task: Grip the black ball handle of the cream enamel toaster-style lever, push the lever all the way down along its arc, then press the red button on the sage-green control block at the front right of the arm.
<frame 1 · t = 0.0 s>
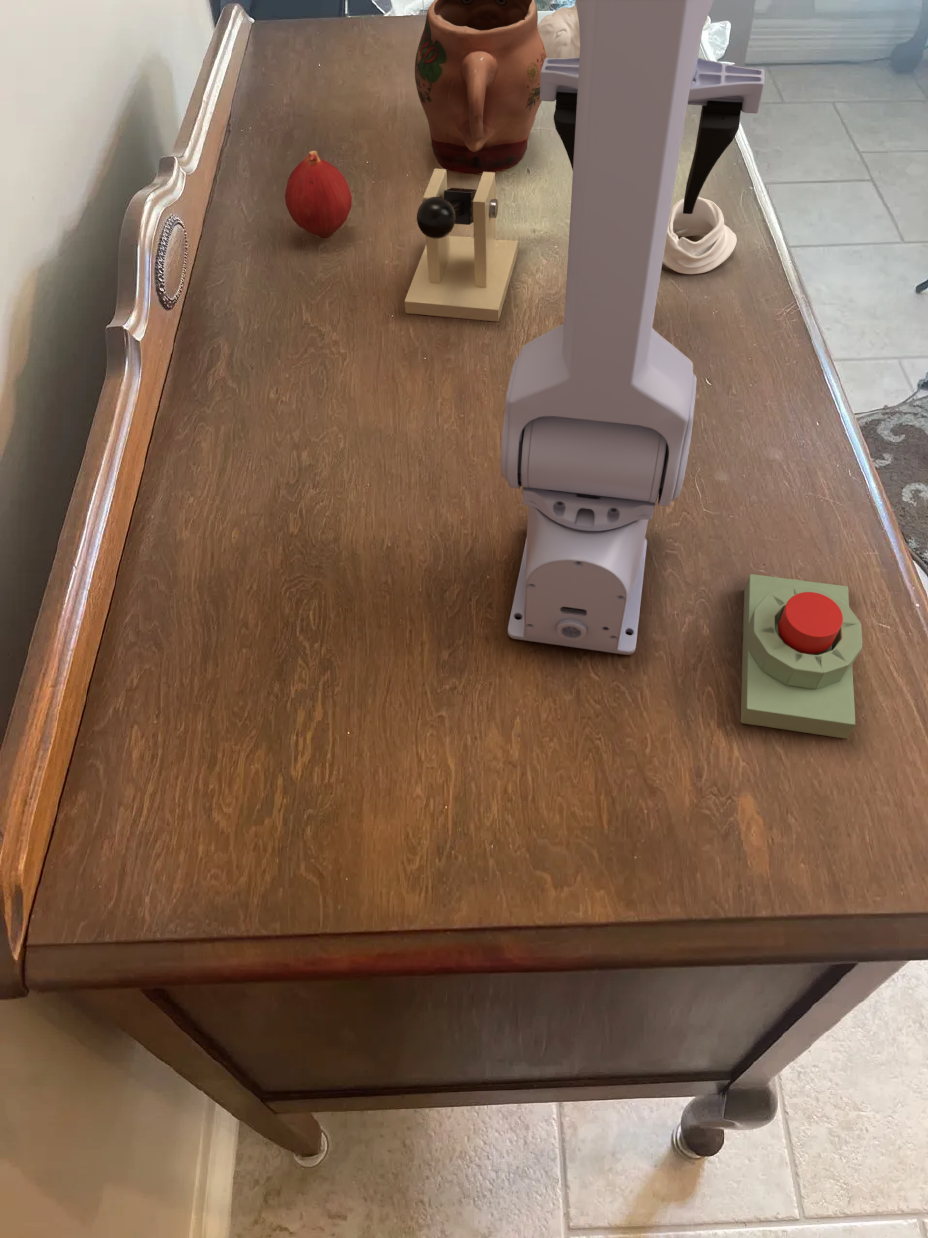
hand: (635, 202, 68), 10 cm above the table, tool pointing down, fingers open, 7 cm apart
lever: (448, 211, 70), point 9 cm above the table, hinge at 25.0°
red squash: (325, 238, 85), on the table
button: (809, 622, 53), point 4 cm above the table, slide at 0.1 cm
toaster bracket: (463, 282, 80), on the table
button block: (792, 660, 56), on the table
decorative planter: (482, 163, 92), on the table
bust: (587, 69, 102), on the table
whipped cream: (688, 255, 81), on the table
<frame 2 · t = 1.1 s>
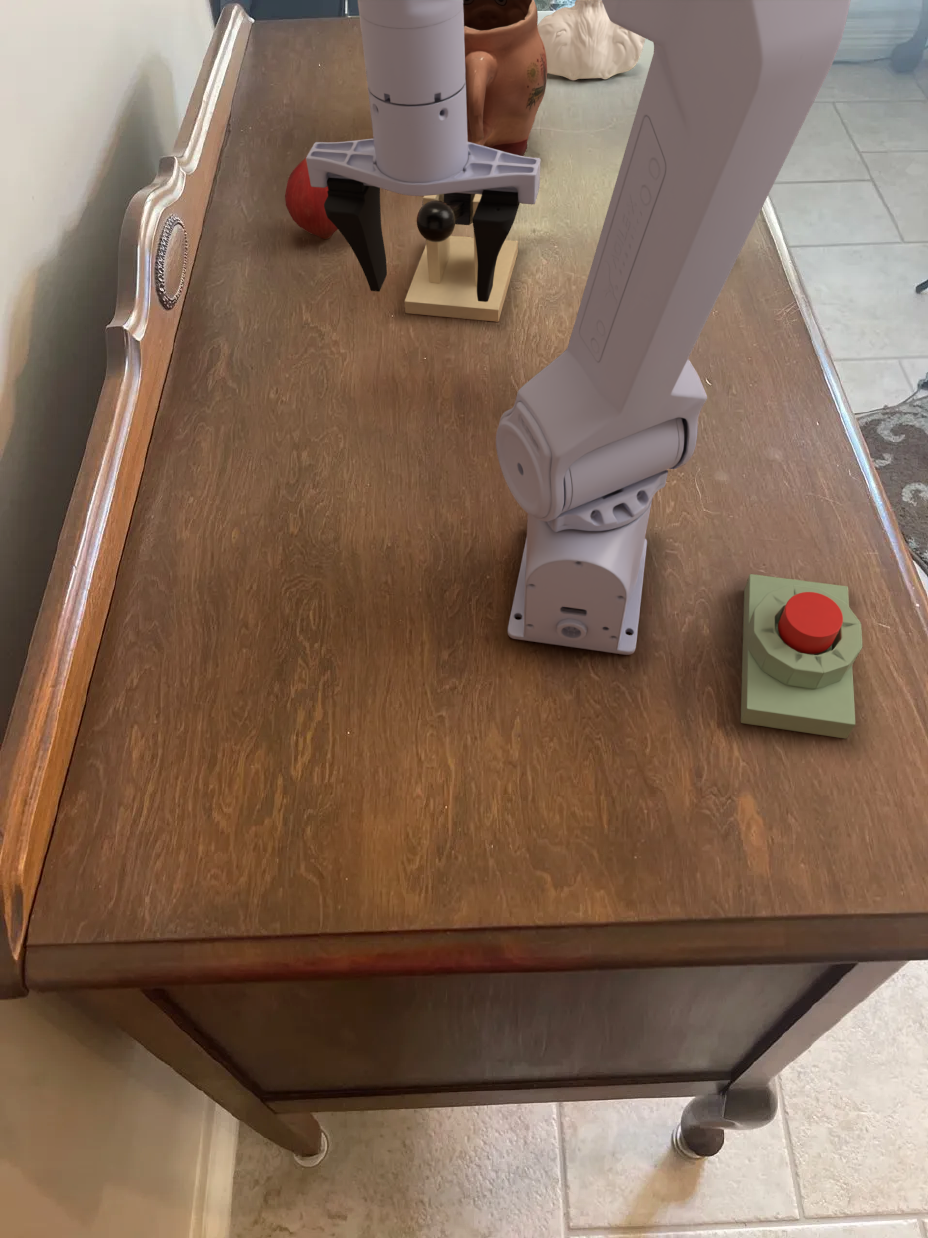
hand: (431, 287, 64), 9 cm above the table, tool pointing down, fingers open, 7 cm apart
lever: (448, 213, 70), point 9 cm above the table, hinge at 23.5°
everything else where it was.
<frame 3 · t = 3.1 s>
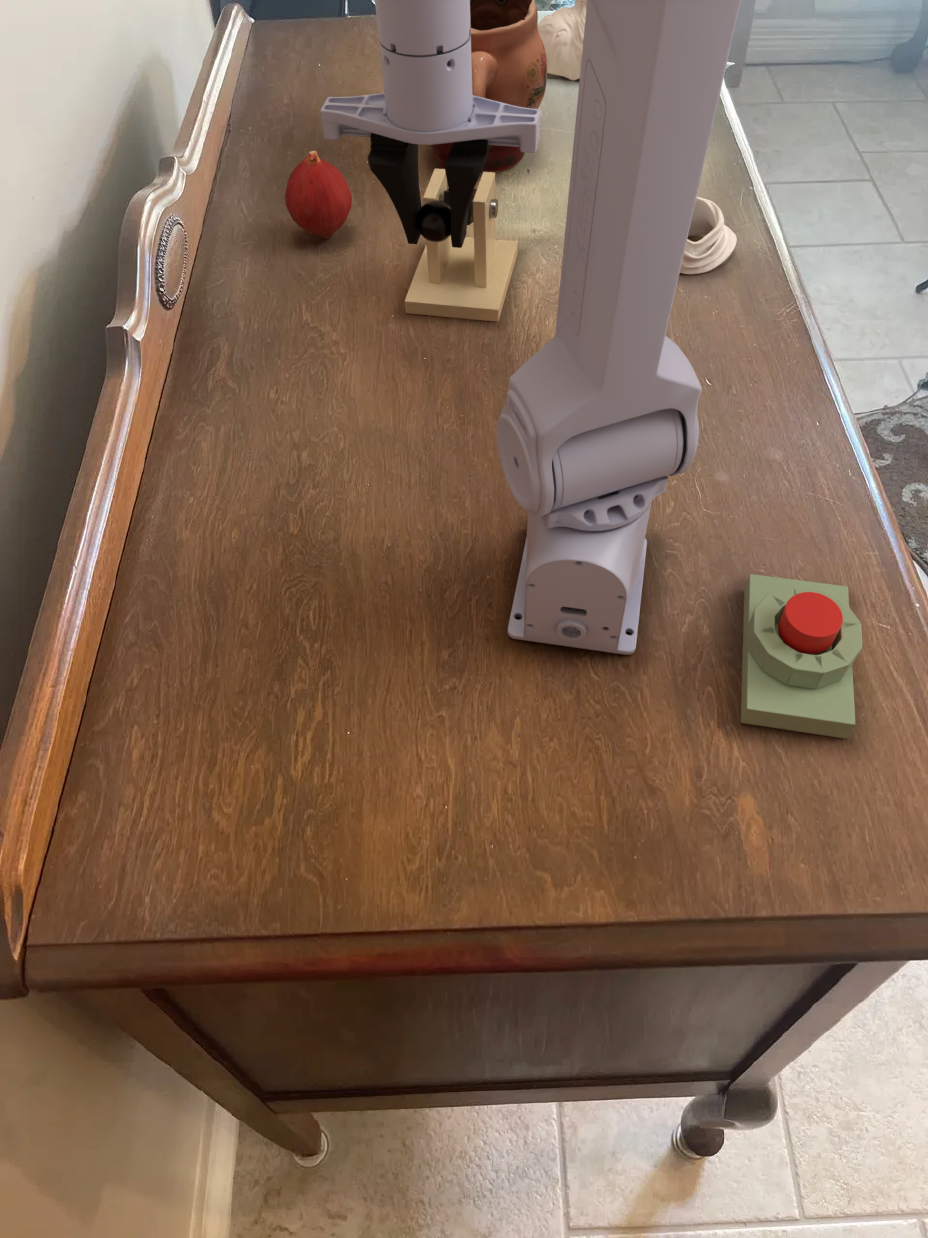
hand: (437, 238, 68), 9 cm above the table, tool pointing down, fingers closed on lever, 3 cm apart
lever: (448, 213, 70), point 9 cm above the table, hinge at 23.5°, touching gripper
everything else where it was.
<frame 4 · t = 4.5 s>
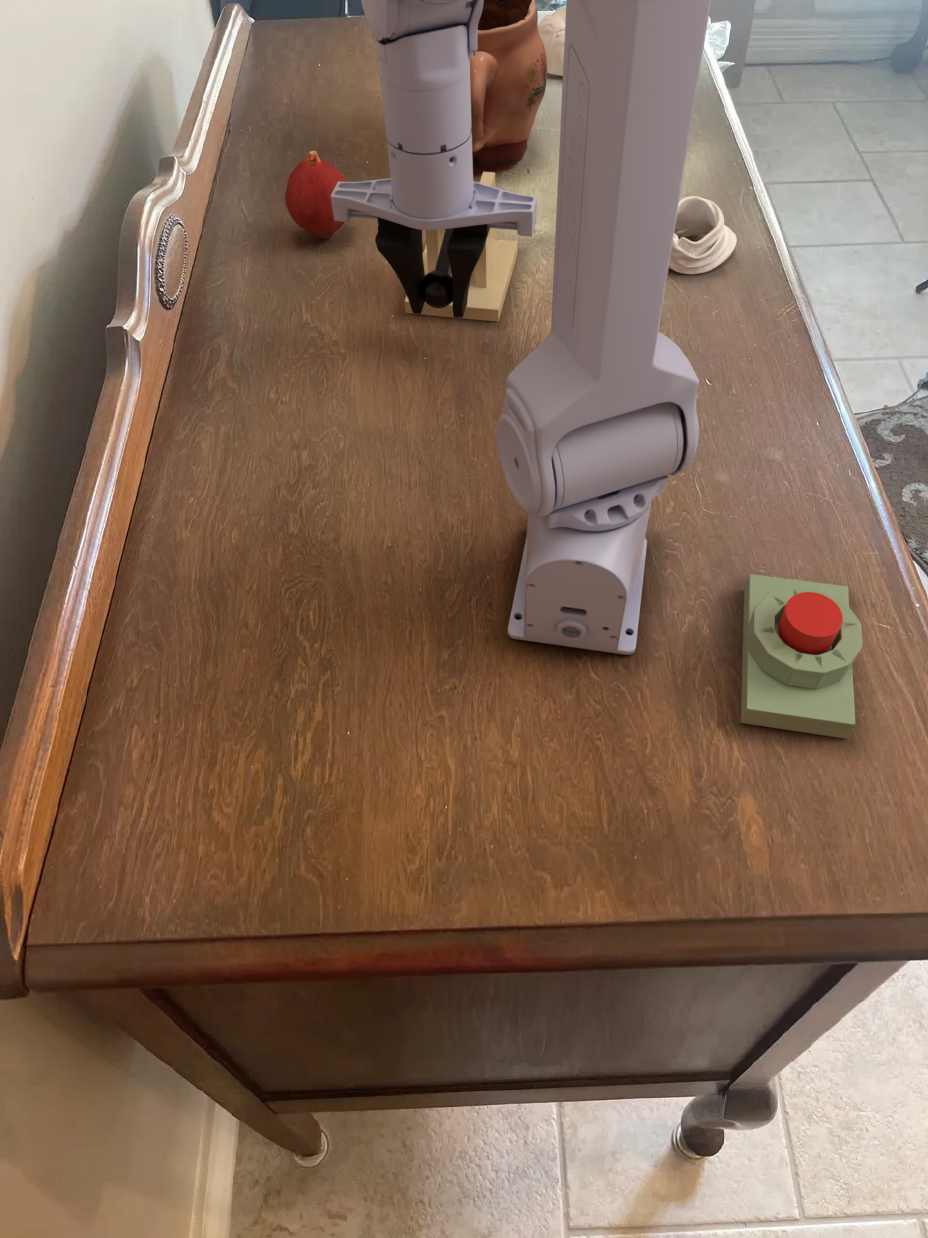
hand: (440, 307, 72), 4 cm above the table, tool pointing down, fingers closed on lever, 3 cm apart
lever: (449, 246, 72), point 6 cm above the table, hinge at -10.5°, touching gripper
everything else where it was.
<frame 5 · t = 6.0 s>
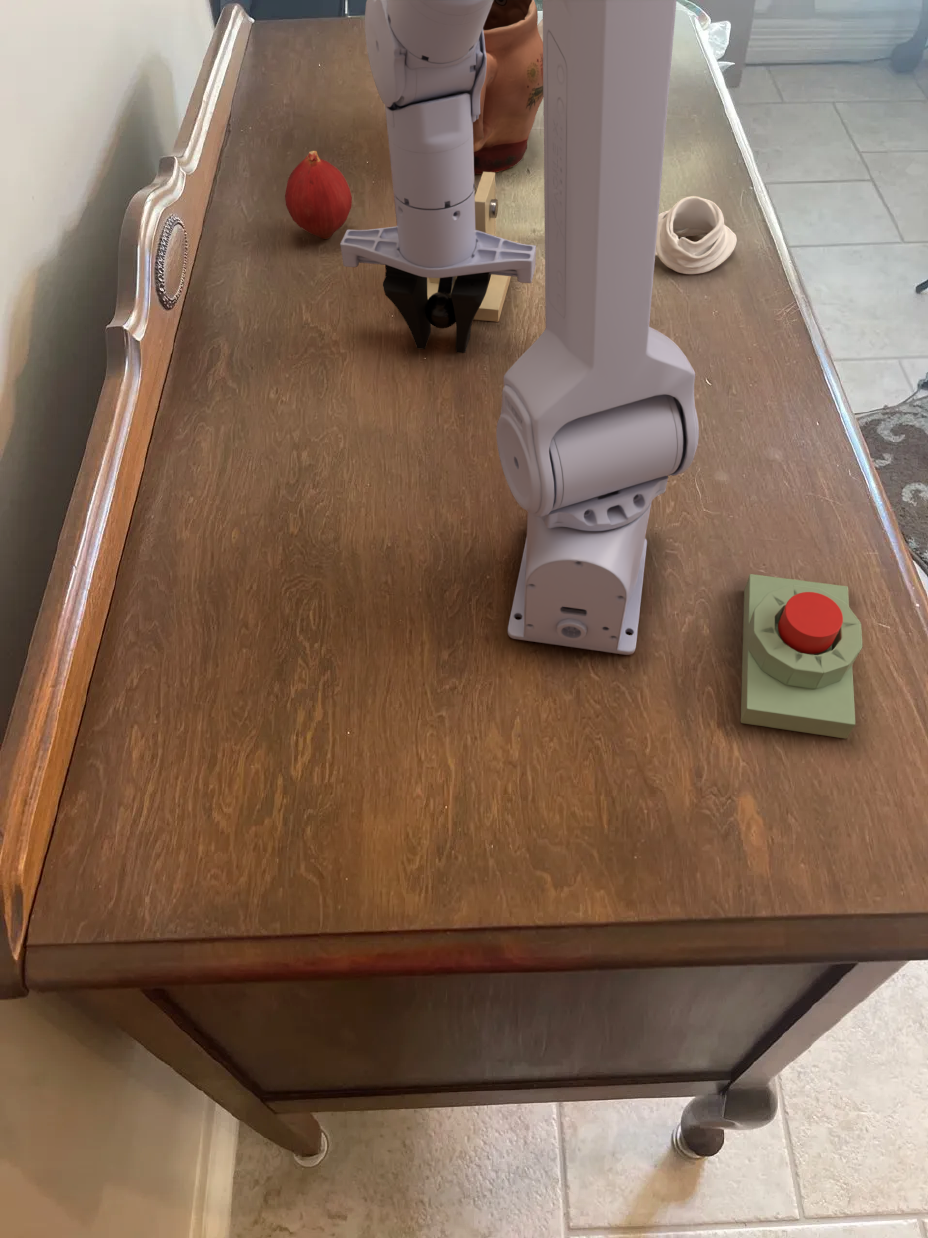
hand: (443, 345, 76), 0 cm above the table, tool pointing down, fingers closed on lever, 3 cm apart
lever: (451, 257, 74), point 5 cm above the table, hinge at -27.2°, touching gripper
everything else where it was.
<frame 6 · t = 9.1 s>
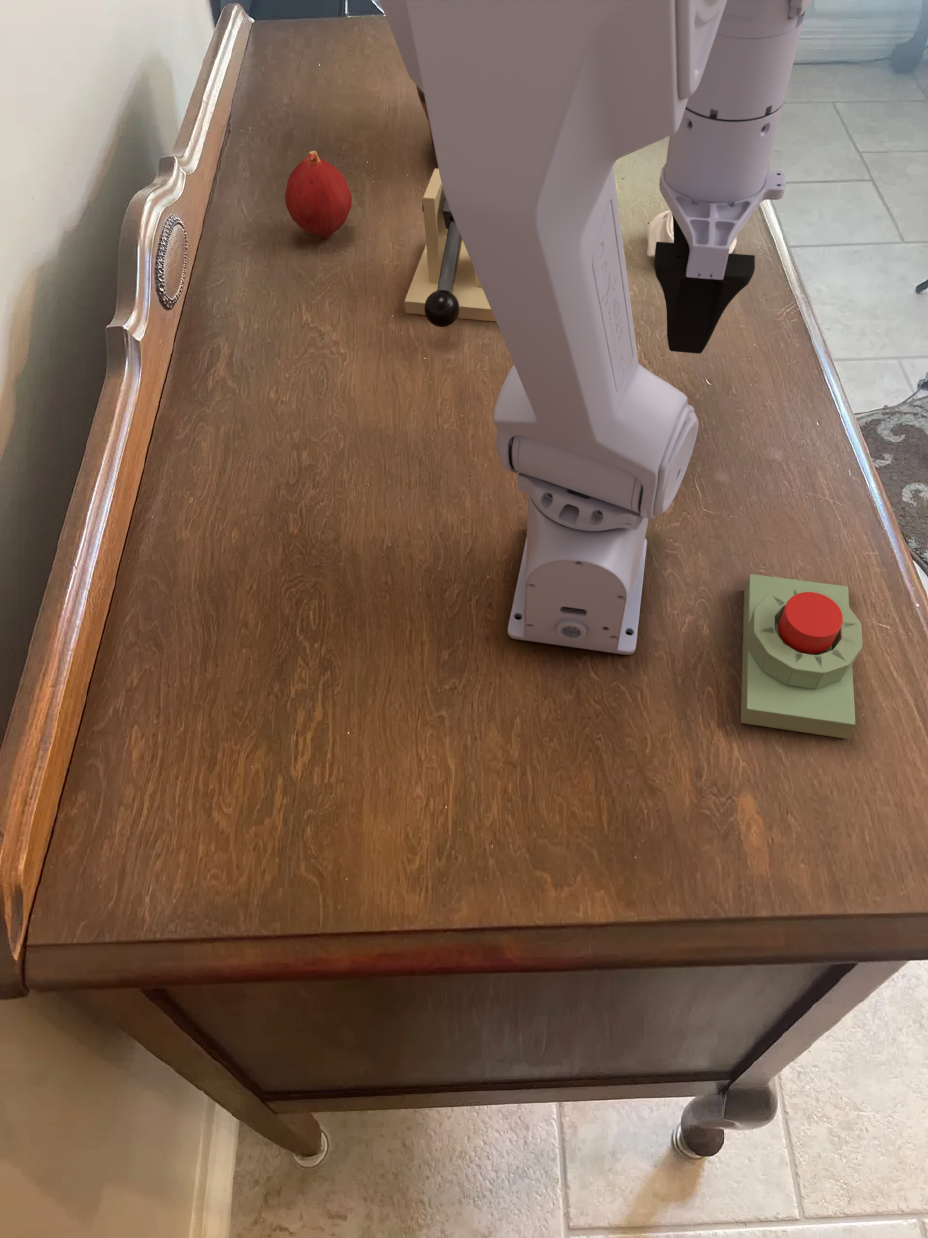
hand: (688, 311, 60), 10 cm above the table, tool pointing down, fingers open, 7 cm apart
lever: (451, 256, 74), point 5 cm above the table, hinge at -25.6°
everything else where it was.
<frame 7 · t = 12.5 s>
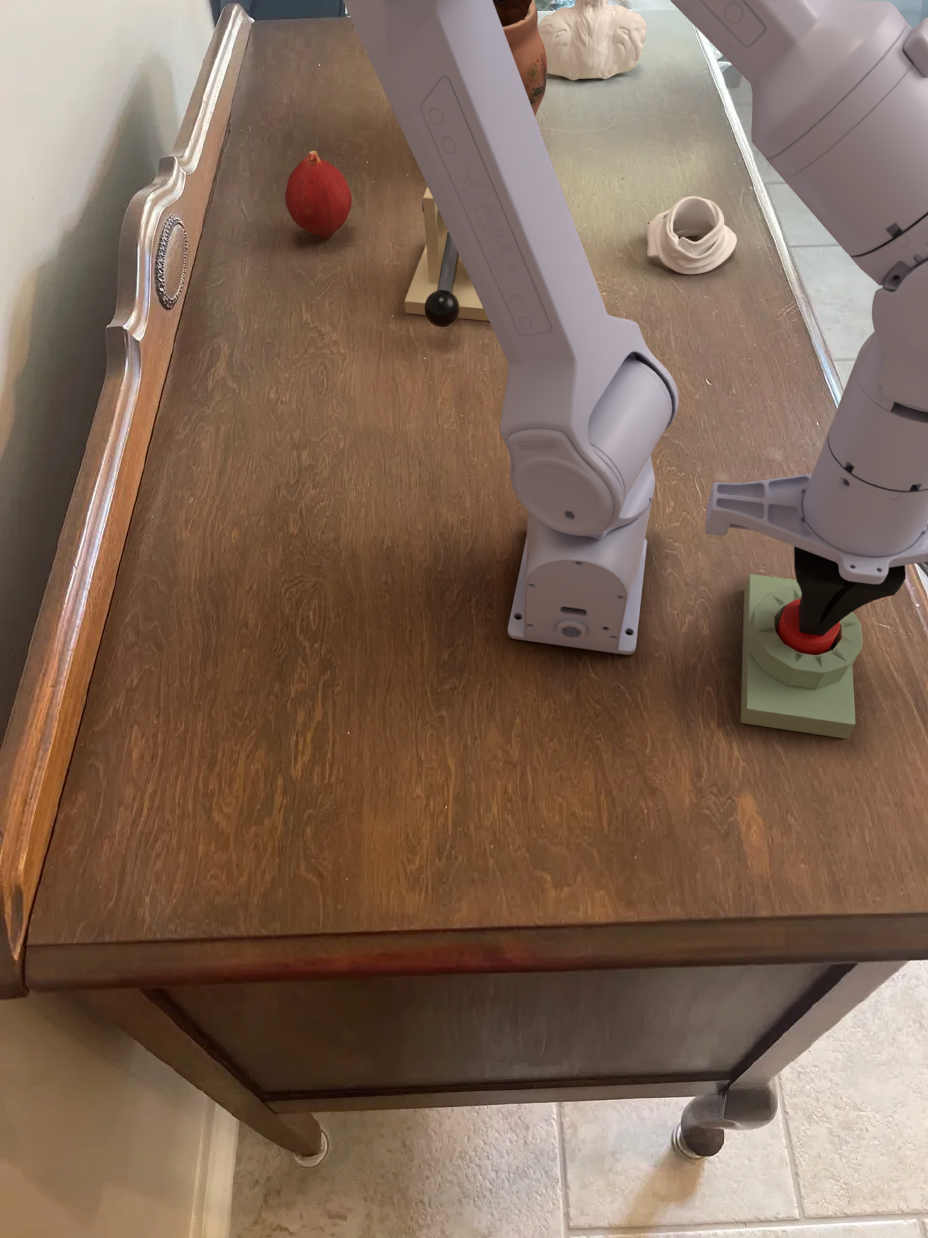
hand: (811, 620, 53), 4 cm above the table, tool pointing down, fingers closed, pressing on button
button: (807, 628, 54), point 3 cm above the table, slide at -0.5 cm, touching gripper
everything else where it was.
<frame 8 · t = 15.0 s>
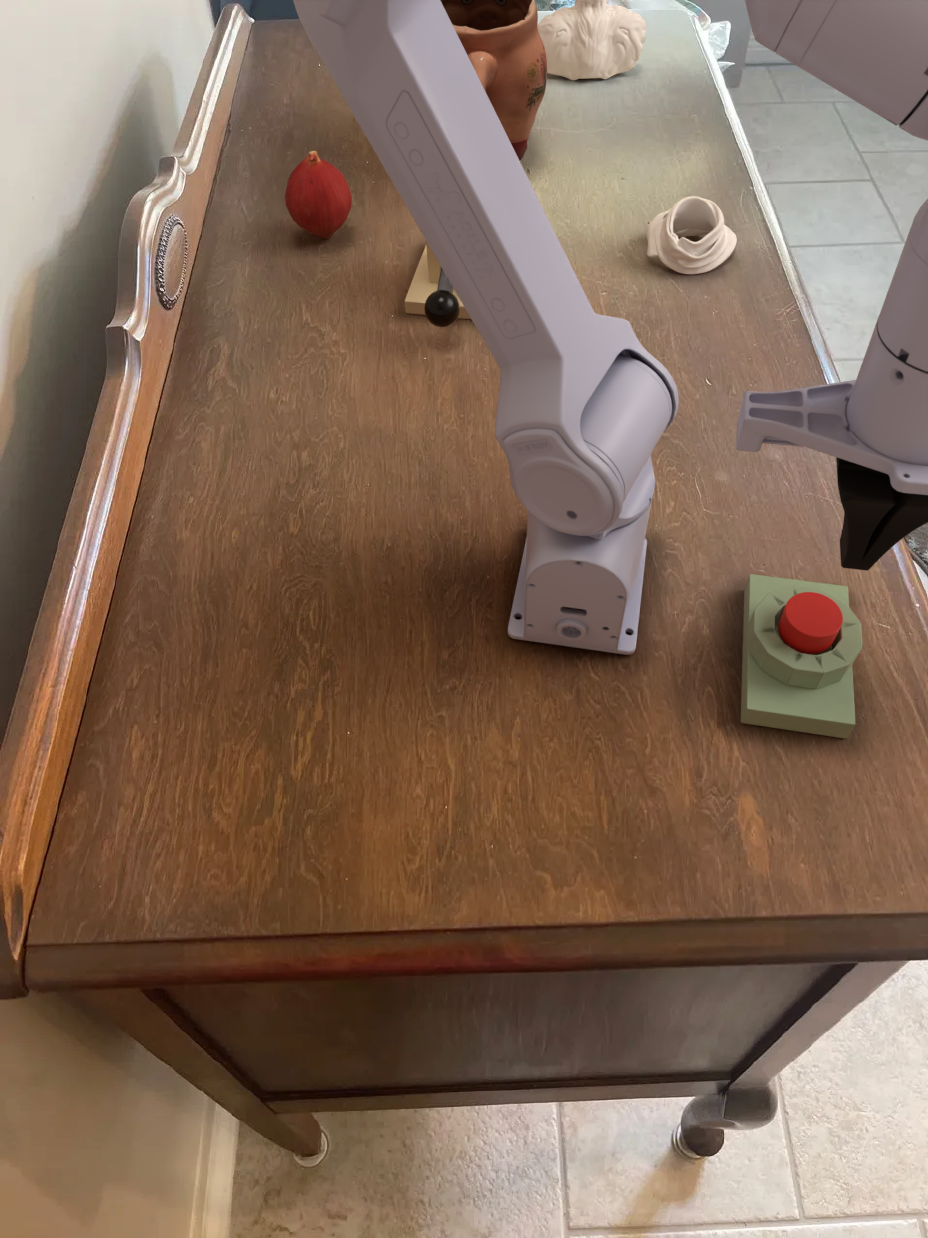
hand: (854, 554, 48), 10 cm above the table, tool pointing down, fingers closed
button: (809, 622, 53), point 4 cm above the table, slide at 0.1 cm
everything else where it was.
at the end: lever at -26° (first picture: +25°); button pushed in 1.2 cm at the most during the clip, back to where it started at the end; button slide at 0.1 cm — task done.
